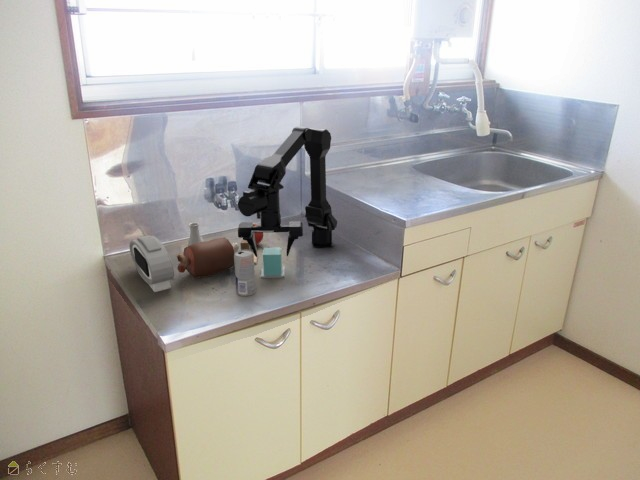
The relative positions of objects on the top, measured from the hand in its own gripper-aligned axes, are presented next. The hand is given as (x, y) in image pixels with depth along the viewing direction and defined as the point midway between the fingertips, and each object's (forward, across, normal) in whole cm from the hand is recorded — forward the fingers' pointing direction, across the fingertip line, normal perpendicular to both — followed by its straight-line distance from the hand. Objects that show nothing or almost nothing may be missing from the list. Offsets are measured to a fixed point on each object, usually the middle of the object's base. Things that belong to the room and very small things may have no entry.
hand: (271, 256), depth 156 cm
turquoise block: (+5, 0, 0) cm, 5 cm away
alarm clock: (+6, +35, +2) cm, 36 cm away
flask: (+6, +26, -17) cm, 32 cm away
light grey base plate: (+6, 0, 0) cm, 6 cm away
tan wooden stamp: (+6, +9, -10) cm, 15 cm away
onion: (+6, +7, -22) cm, 24 cm away
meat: (+6, +19, -1) cm, 20 cm away
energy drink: (+6, +7, +12) cm, 15 cm away
